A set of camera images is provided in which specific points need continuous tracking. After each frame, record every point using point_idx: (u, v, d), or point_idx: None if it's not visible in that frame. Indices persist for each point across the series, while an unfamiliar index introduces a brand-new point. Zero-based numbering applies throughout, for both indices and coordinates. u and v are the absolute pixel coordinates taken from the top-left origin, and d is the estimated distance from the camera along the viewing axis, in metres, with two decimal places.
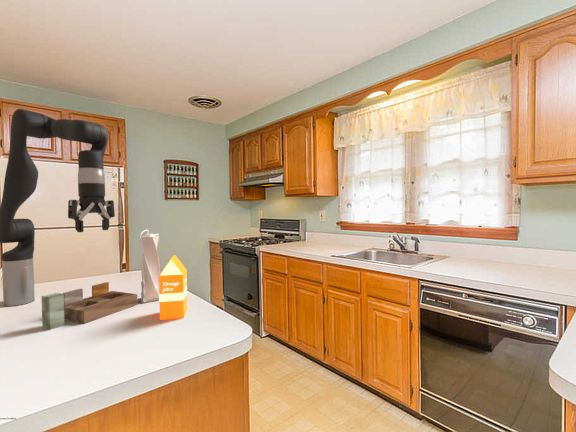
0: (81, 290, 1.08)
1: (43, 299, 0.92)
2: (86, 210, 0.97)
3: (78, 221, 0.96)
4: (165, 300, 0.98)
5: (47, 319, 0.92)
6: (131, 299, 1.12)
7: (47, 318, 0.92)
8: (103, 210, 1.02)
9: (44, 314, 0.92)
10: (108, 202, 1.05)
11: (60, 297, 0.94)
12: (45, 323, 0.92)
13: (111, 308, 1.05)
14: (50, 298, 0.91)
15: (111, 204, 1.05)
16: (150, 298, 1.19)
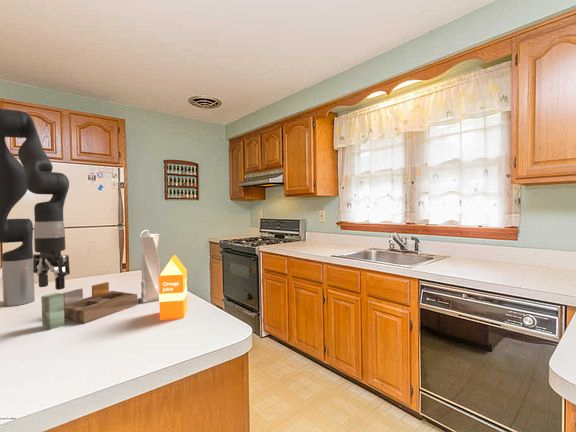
0: (81, 290, 1.08)
1: (43, 299, 0.92)
2: None
3: (63, 277, 0.92)
4: (165, 300, 0.98)
5: (47, 319, 0.92)
6: (131, 299, 1.12)
7: (47, 318, 0.92)
8: None
9: (44, 314, 0.92)
10: None
11: (60, 297, 0.94)
12: (45, 323, 0.92)
13: (111, 308, 1.05)
14: (50, 298, 0.91)
15: None
16: (150, 298, 1.19)
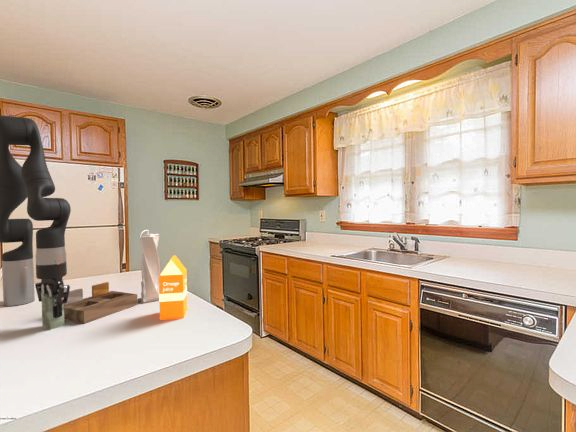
0: (81, 290, 1.08)
1: (43, 299, 0.92)
2: None
3: (61, 305, 0.93)
4: (165, 300, 0.98)
5: (47, 319, 0.92)
6: (131, 299, 1.12)
7: (47, 318, 0.92)
8: None
9: (44, 314, 0.92)
10: None
11: None
12: (45, 323, 0.92)
13: (111, 308, 1.05)
14: (50, 298, 0.91)
15: None
16: (150, 298, 1.19)
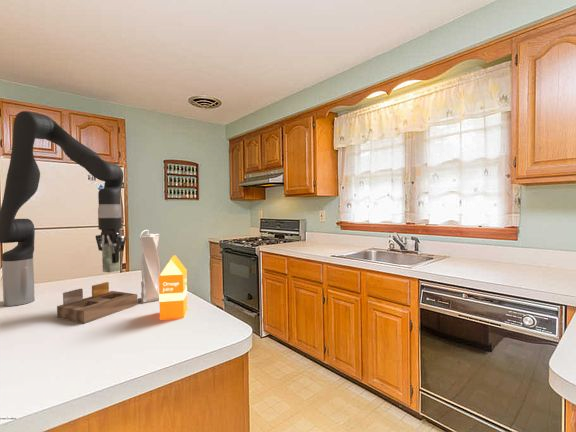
0: (81, 290, 1.08)
1: (103, 247, 1.10)
2: None
3: None
4: (164, 300, 0.98)
5: (107, 264, 1.10)
6: (131, 299, 1.12)
7: (107, 263, 1.10)
8: None
9: (104, 260, 1.10)
10: None
11: None
12: (105, 267, 1.10)
13: (111, 308, 1.05)
14: None
15: None
16: (150, 298, 1.19)
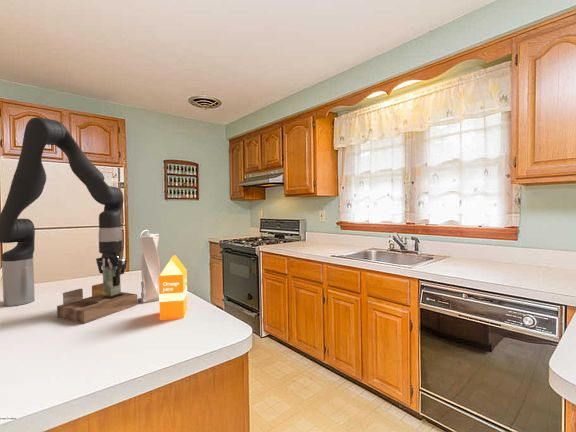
0: (81, 290, 1.08)
1: (104, 270, 1.10)
2: None
3: None
4: (164, 300, 0.98)
5: (108, 287, 1.10)
6: (131, 299, 1.12)
7: (107, 286, 1.10)
8: None
9: (105, 283, 1.10)
10: None
11: None
12: (106, 291, 1.10)
13: (111, 308, 1.05)
14: (110, 269, 1.10)
15: None
16: (150, 298, 1.19)
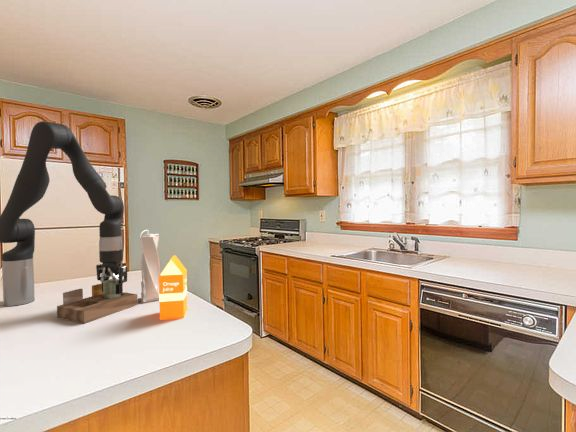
0: (81, 290, 1.08)
1: (104, 283, 1.11)
2: None
3: None
4: (165, 300, 0.98)
5: None
6: (131, 299, 1.12)
7: None
8: None
9: (105, 296, 1.11)
10: None
11: None
12: None
13: (111, 308, 1.05)
14: (111, 283, 1.10)
15: None
16: (150, 298, 1.19)
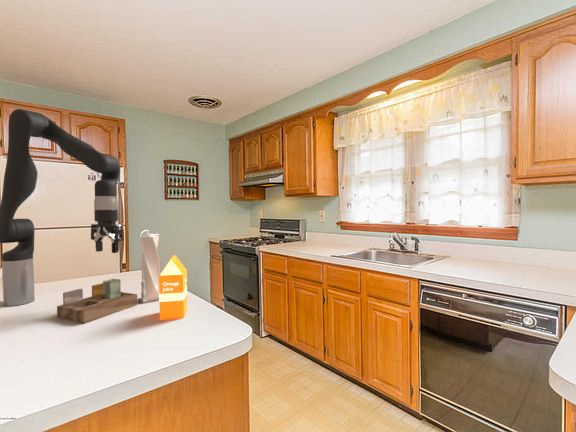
0: (81, 290, 1.08)
1: (104, 283, 1.11)
2: None
3: None
4: (164, 300, 0.98)
5: None
6: (131, 299, 1.12)
7: None
8: None
9: (105, 296, 1.11)
10: None
11: (118, 282, 1.12)
12: None
13: (111, 308, 1.05)
14: (111, 283, 1.10)
15: None
16: (150, 298, 1.19)
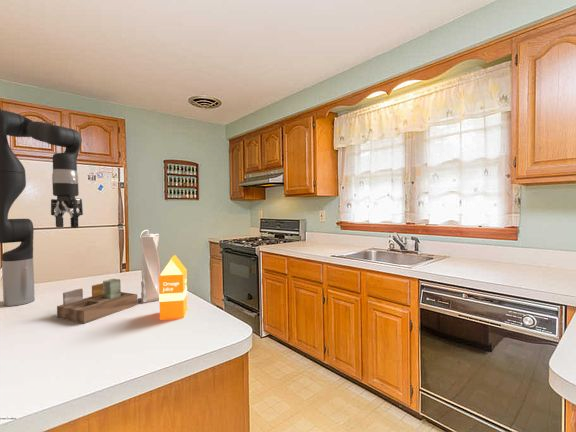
0: (81, 290, 1.08)
1: (104, 283, 1.11)
2: None
3: (77, 217, 1.07)
4: (165, 300, 0.98)
5: None
6: (131, 299, 1.12)
7: None
8: None
9: (105, 296, 1.11)
10: None
11: (118, 282, 1.12)
12: None
13: (111, 308, 1.05)
14: (111, 283, 1.10)
15: None
16: (150, 298, 1.19)
